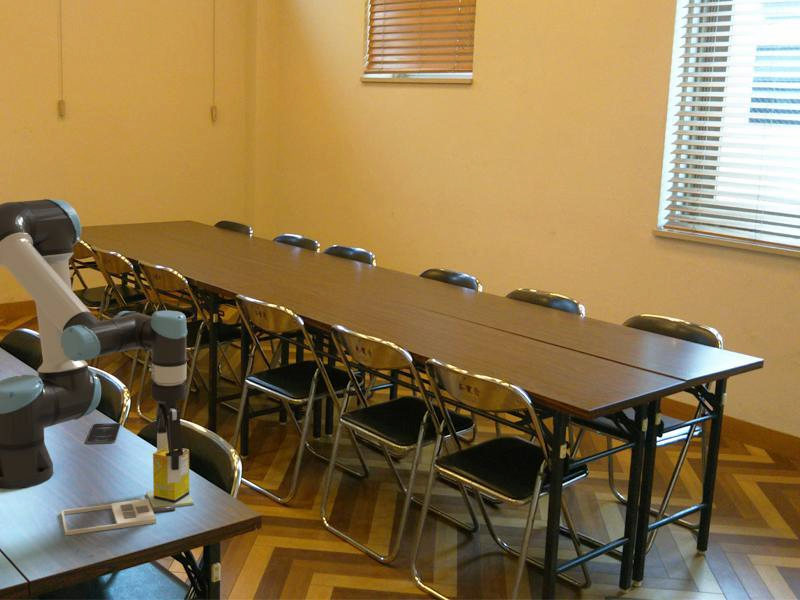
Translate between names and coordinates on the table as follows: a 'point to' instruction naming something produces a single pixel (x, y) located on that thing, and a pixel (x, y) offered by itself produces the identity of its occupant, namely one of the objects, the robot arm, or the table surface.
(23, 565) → the table surface
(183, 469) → the supplement box
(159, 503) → the mat
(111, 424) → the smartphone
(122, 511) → the white rectangular frame panel
